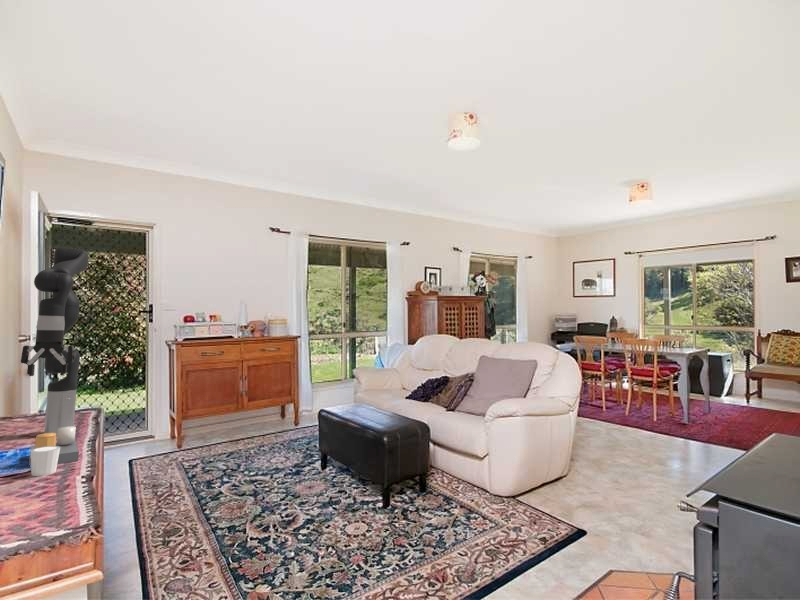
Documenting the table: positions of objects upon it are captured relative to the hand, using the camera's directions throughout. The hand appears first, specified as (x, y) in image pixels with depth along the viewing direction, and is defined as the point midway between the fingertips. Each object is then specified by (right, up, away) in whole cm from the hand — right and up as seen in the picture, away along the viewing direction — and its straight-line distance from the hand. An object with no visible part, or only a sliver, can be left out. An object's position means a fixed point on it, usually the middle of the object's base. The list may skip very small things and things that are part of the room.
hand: (46, 375), depth 148 cm
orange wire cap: (+10, -22, -12) cm, 27 cm away
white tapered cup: (+18, -25, -22) cm, 38 cm away
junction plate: (+9, -26, -8) cm, 29 cm away
